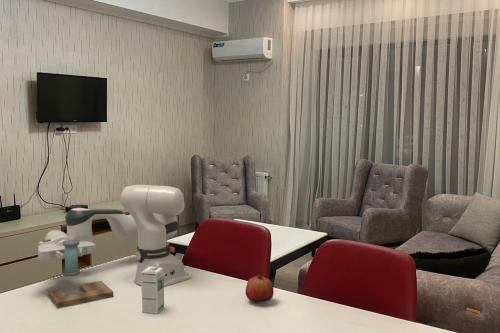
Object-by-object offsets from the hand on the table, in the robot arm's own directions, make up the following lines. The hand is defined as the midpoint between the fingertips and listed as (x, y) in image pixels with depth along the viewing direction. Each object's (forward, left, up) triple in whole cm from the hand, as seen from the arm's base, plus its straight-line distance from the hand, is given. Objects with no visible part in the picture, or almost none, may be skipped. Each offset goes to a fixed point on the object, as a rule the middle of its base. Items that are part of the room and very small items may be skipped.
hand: (72, 255), depth 170 cm
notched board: (-2, +1, -16) cm, 16 cm away
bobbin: (0, -1, -7) cm, 7 cm away
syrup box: (-19, +27, -16) cm, 37 cm away
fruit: (-54, +41, -16) cm, 70 cm away
